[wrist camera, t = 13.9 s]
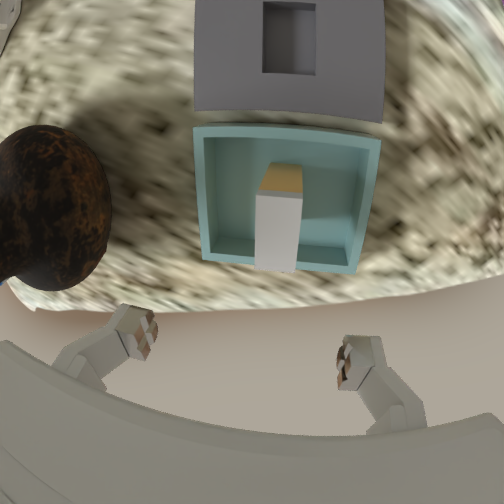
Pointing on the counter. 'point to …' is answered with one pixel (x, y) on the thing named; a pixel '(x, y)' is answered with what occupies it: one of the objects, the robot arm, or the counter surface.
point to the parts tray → (313, 180)
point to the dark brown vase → (51, 208)
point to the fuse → (278, 218)
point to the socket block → (291, 56)
